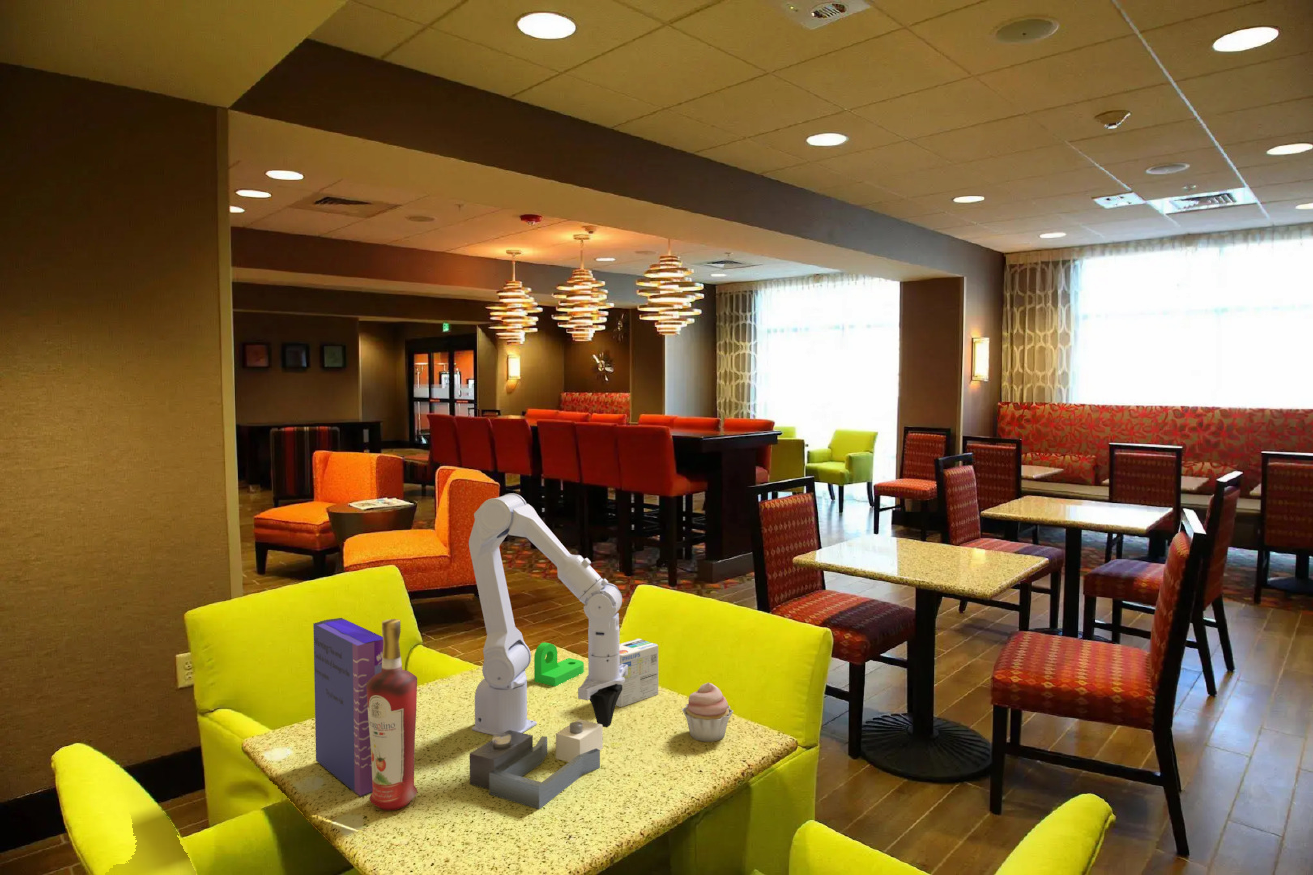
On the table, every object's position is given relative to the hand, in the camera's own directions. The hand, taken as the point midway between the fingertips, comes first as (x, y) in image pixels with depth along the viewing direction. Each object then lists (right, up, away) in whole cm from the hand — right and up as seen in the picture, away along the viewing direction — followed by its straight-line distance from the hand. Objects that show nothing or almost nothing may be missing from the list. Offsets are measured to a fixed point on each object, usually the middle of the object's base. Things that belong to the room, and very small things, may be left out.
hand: (604, 725), depth 139 cm
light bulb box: (+4, -2, +19) cm, 19 cm away
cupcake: (+19, -2, 0) cm, 19 cm away
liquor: (-31, -3, -24) cm, 39 cm away
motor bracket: (-10, -2, -16) cm, 19 cm away
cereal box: (-41, -3, -14) cm, 43 cm away
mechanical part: (-12, -1, +32) cm, 34 cm away
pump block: (-4, -2, -7) cm, 8 cm away
